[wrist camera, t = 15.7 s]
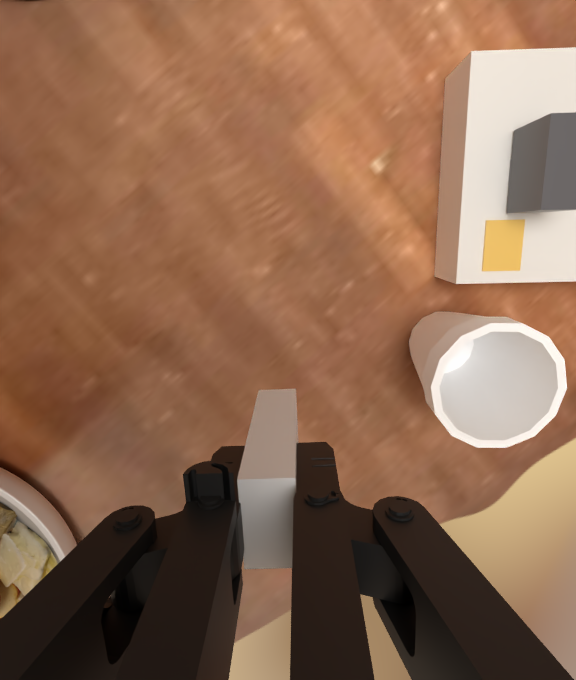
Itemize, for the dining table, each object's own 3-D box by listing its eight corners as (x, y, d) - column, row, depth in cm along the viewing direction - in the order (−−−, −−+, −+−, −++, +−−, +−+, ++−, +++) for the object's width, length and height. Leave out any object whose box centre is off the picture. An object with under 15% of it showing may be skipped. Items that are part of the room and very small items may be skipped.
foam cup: (470, 279, 42) (543, 299, 30) (502, 363, 44) (584, 416, 32) (378, 321, 43) (410, 357, 31) (413, 401, 45) (457, 467, 33)
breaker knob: (514, 130, 33) (551, 113, 28) (554, 129, 33) (598, 111, 28) (506, 213, 35) (540, 210, 30) (545, 212, 35) (585, 209, 30)
